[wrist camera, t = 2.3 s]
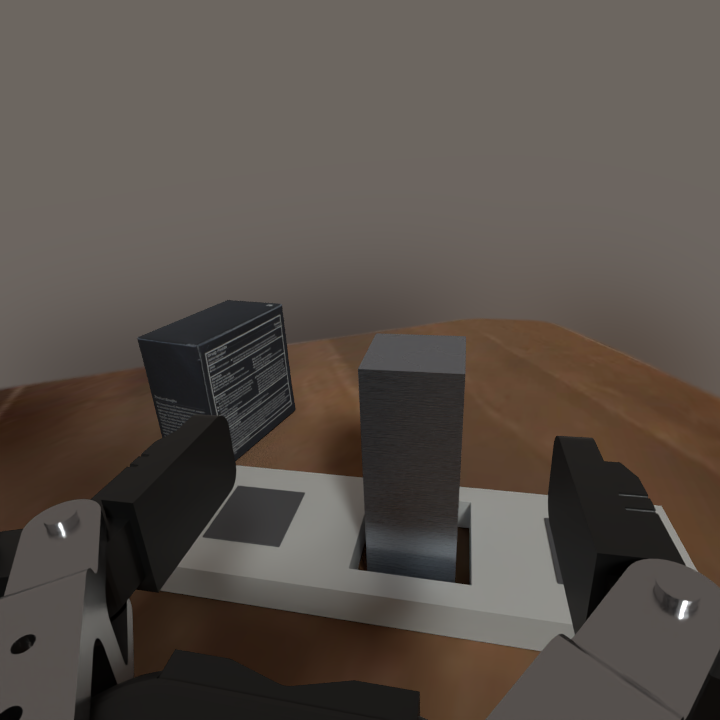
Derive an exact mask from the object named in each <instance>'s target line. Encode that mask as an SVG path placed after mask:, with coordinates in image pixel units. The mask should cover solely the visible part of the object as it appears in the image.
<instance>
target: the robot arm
mask: <svg viewBox="0 0 720 720" xmlns="http://www.w3.org/2000/svg"><path fill="white" fill-rule="evenodd" d="M235 480H236V463H235V457H234V452H233V446H232V440H231V435H230V429H229V424H228V421H227V419H226V418H225V417H224V416H217V415H200V414H196V415H193V416H192V417H190V418H189V419H188V420H187V421H186V422H185V423H184V424H183V425H182V426H181V427H180V428H179V429H177V430H176V431H175V432H173V433H171V434H169V435H167V436H165V437H163V438H161V439H160V440H158V441H156V442H154V443H153V444H152V445H151V446H150V447H149V448H148V449H147V450H145V451H144V452H143V453H142V455H141V457H140V456H139V457H138V458H136V459H135V460H134V461H133V462H132V463H131V464H130V467H126V468H125V469H124V470H123V471H122V472H121V473H120V474H119V475H117V476H116V477H115V478H114V479H113V480H112V481H111V482H110V483H108V484H107V485H106V486H105V487H104V488H103V489H102V490H101V491H99V492H98V493H97V494H96V495H95V496H94V497H93V498H92V499H90V500H89V499H77V500H71V501H67V502H63V503H60V504H57V505H55V506H53V507H50V508H48V509H46V510H45V511H43V512H41V513H40V514H38V515H37V516H35V517H34V518H33V519H32V520H31V521H29V523H28V524H27V525H26V526H25V527H24V529H18V530H10V531H3V532H0V720H427V719H425V718H423V717H421V716H420V692H418V691H413V690H407V689H401V688H395V687H390V686H384V685H378V684H372V683H366V682H361V681H355V680H353V681H342V682H331V683H320V684H309V685H298V686H284V685H281V684H278V683H276V682H274V681H272V680H270V679H269V678H267V677H265V676H263V675H261V674H259V673H257V672H255V671H253V670H251V669H249V668H247V667H245V666H243V665H241V664H239V663H237V662H236V661H234V660H232V659H228V658H222V657H217V656H211V655H205V654H199V653H194V652H188V651H182V650H176V649H175V651H174V653H173V654H172V656H171V658H170V659H169V661H168V663H167V664H166V666H165V668H164V669H163V671H158V672H154V673H149V674H145V675H141V676H138V677H135V678H134V650H133V618H132V605H131V602H130V599H129V598H130V596H131V595H132V594H133V592H134V591H135V590H136V589H137V590H144V591H151V592H157V593H158V592H159V591H160V590H161V588H162V587H163V585H164V584H165V583H166V581H167V580H168V578H169V577H170V576H171V574H172V573H173V572H174V570H175V569H176V567H177V566H178V565H179V563H180V562H181V560H182V559H183V558H184V556H185V555H186V553H187V552H188V551H189V549H190V548H191V547H192V545H193V544H194V542H195V541H196V540H197V538H198V537H199V535H200V534H201V533H202V531H203V530H204V528H205V527H206V526H207V524H208V523H209V522H210V520H211V519H212V517H213V516H214V515H215V513H216V512H217V510H218V509H219V508H220V506H221V505H222V504H223V502H224V501H225V499H226V498H227V497H228V495H229V494H230V492H231V491H232V489H233V487H234V484H235ZM548 516H549V523H550V527H551V532H552V536H553V541H554V545H555V549H556V554H557V558H558V563H559V567H560V571H561V576H562V580H563V585H564V589H565V594H566V598H567V602H568V607H569V611H570V616H571V620H572V625H573V629H574V633H575V636H574V637H573V638H572V639H570V638H568V637H567V636H565V635H564V634H558V635H557V636H555V637H554V638H553V639H552V640H551V641H550V642H549V643H548V644H547V645H546V647H545V648H544V649H543V650H542V651H541V653H540V654H539V655H538V656H537V658H536V659H535V660H534V661H533V662H532V664H531V665H530V666H529V667H528V668H527V670H526V671H525V672H524V673H523V675H522V676H521V677H520V678H519V679H518V681H517V682H516V683H515V684H514V686H513V687H512V688H511V689H510V690H509V692H508V693H507V694H506V695H505V696H504V698H503V699H502V700H501V701H500V703H499V704H498V705H497V706H496V707H495V709H494V710H493V711H492V712H491V714H490V715H489V716H488V717H487V718H486V720H720V588H719V587H718V586H717V585H716V584H714V583H713V582H712V581H711V580H710V579H708V578H707V577H705V576H704V575H702V574H701V573H699V572H697V571H695V570H693V569H691V568H689V567H687V566H686V564H685V563H684V561H683V559H682V557H681V555H680V553H679V552H678V550H677V548H676V546H675V544H674V542H673V540H672V539H671V537H670V535H669V533H668V531H667V529H666V527H665V526H664V524H663V522H662V520H661V518H660V516H659V515H658V513H656V509H655V507H654V505H653V503H652V502H651V500H650V499H648V494H647V492H646V491H645V489H644V487H643V485H642V483H641V481H640V479H639V478H638V477H637V476H636V475H635V474H633V473H632V472H631V471H630V470H629V469H627V468H626V467H625V466H624V465H622V464H621V463H620V462H606V461H604V460H603V458H602V456H601V454H600V451H599V449H598V447H597V445H596V443H595V441H594V439H593V438H585V437H567V436H556V438H555V441H554V447H553V455H552V464H551V473H550V482H549V491H548Z"/></svg>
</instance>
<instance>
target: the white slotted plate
mask: <svg viewBox="0 0 720 720" xmlns="http://www.w3.org/2000/svg"><path fill="white" fill-rule="evenodd" d="M654 507H655V509H656V513H658V515H659V516H660V518H661V520H662V522H663V524H664V526H665V527H666V529H667V531H668V533H669V535H670V537H671V539H672V540H673V542H674V544H675V546H676V548H677V550H678V552H679V553H680V555H681V557H682V559H683V561H684V563H685V564H686V566H687V567H689V568H691V569H693V570H695V571H697V570H696V568H695V566H694V564H693V563H692V561H691V559H690V557H689V555H688V553H687V552H686V550H685V548H684V546H683V544H682V543H681V541H680V539H679V537H678V535H677V533H676V532H675V530H674V528H673V526H672V524H671V523H670V521H669V519H668V517H667V515H666V513H665V512H664V510H663V508H662V506H655V505H654ZM458 527H463V528H469V547H470V585H466V584H458V583H451V582H443V581H436V580H429V579H421V578H414V577H407V576H399V575H392V574H385V573H377V572H370V571H363V570H358V567H359V563H360V559H361V555H362V552H363V548H364V544H365V540H366V532H365V510H364V488H363V478H362V477H351V476H341V475H330V474H320V473H309V472H299V471H288V470H278V469H267V468H257V467H246V466H236V480H235V484H234V487H233V489H232V491H231V492H230V494H229V495H228V497H227V498H226V499H225V501H224V502H223V504H222V505H221V506H220V508H219V509H218V510H217V512H216V513H215V515H214V516H213V517H212V519H211V520H210V522H209V523H208V524H207V526H206V527H205V528H204V530H203V531H202V533H201V534H200V535H199V537H198V538H197V540H196V541H195V542H194V544H193V545H192V547H191V548H190V549H189V551H188V552H187V553H186V555H185V556H184V558H183V559H182V560H181V562H180V563H179V565H178V566H177V567H176V569H175V570H174V572H173V573H172V574H171V576H170V577H169V578H168V580H167V581H166V583H165V584H164V585H163V587H162V588H161V590H160V591H166V592H172V593H178V594H185V595H191V596H197V597H204V598H210V599H216V600H222V601H229V602H235V603H241V604H248V605H254V606H260V607H267V608H273V609H279V610H285V611H292V612H298V613H304V614H311V615H317V616H323V617H329V618H336V619H342V620H348V621H355V622H361V623H367V624H374V625H380V626H386V627H392V628H399V629H405V630H411V631H418V632H424V633H430V634H436V635H443V636H449V637H455V638H462V639H468V640H474V641H481V642H487V643H493V644H499V645H506V646H512V647H518V648H525V649H531V650H537V651H542V650H543V649H544V648H545V647H546V645H547V644H548V643H549V642H550V641H551V640H552V639H553V638H554V637H555V636H557V635H558V634H564V635H565V636H567V637H568V638H570V639H572V638H573V637H574V636H575V633H574V629H573V625H572V620H571V616H570V611H569V607H568V602H567V598H566V594H565V589H564V585H563V580H562V576H561V571H560V567H559V563H558V558H557V554H556V549H555V545H554V541H553V536H552V532H551V527H550V523H549V516H548V495H540V494H529V493H519V492H508V491H498V490H488V489H477V488H467V487H460V489H459V509H458Z"/></svg>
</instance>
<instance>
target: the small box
mask: <svg viewBox="0 0 720 720" xmlns="http://www.w3.org/2000/svg"><path fill="white" fill-rule="evenodd" d="M137 339H138V343H139V347H140V350H141V353H142V358H143V362H144V366H145V369H146V373H147V377H148V381H149V385H150V389H151V393H152V397H153V401H154V406H155V409H156V414H157V418H158V422H159V426H160V430H161V434H162V438H163V437H165V436H167V435H169V434H171V433H173V432H175V431H176V430H177V429H179V428H180V427H181V426H182V425H183V424H184V423H185V422H186V421H187V420H188V419H189V418H190V417H192V416H193V415H196V414H200V415H217V416H224V417H225V418H226V419H227V421H228V424H229V429H230V435H231V440H232V446H233V452H234V457H235V461H236V460H237V459H238V458H240V457H241V456H242V455H243V454H244V453H245V452H247V451H248V450H249V449H250V448H251V447H252V446H254V445H255V444H256V443H257V442H258V441H259V440H261V439H262V438H263V437H264V436H265V435H267V434H268V433H269V432H270V431H271V430H272V429H274V428H275V427H276V426H277V425H278V424H280V423H281V422H282V421H283V420H284V419H285V418H286V417H288V416H289V415H290V414H291V413H292V412H294V411H295V410H296V409H295V403H294V396H293V391H292V384H291V375H290V367H289V360H288V351H287V343H286V334H285V327H284V318H283V312H282V304H273V303H260V302H246V301H231V300H227V301H225V302H222V303H220V304H217V305H215V306H213V307H210V308H208V309H205V310H203V311H201V312H198V313H196V314H193V315H191V316H189V317H186V318H184V319H181V320H179V321H176V322H174V323H172V324H169V325H167V326H164V327H162V328H159V329H157V330H155V331H152V332H150V333H147V334H145V335H142V336H140V337H138V338H137Z"/></svg>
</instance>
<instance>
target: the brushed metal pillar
mask: <svg viewBox="0 0 720 720" xmlns="http://www.w3.org/2000/svg"><path fill="white" fill-rule="evenodd" d="M465 358H466V337H464V336H434V335H403V334H376V335H375V337H374V339H373V341H372V343H371V345H370V347H369V349H368V351H367V353H366V355H365V357H364V358H363V360H362V362H361V364H360V366H359V368H358V378H359V400H360V422H361V444H362V466H363V488H364V510H365V532H366V554H367V571H370V572H377V573H385V574H392V575H399V576H407V577H414V578H421V579H429V580H436V581H443V582H451V583H455V569H456V549H457V529H458V509H459V489H460V469H461V449H462V429H463V409H464V389H465Z"/></svg>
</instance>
